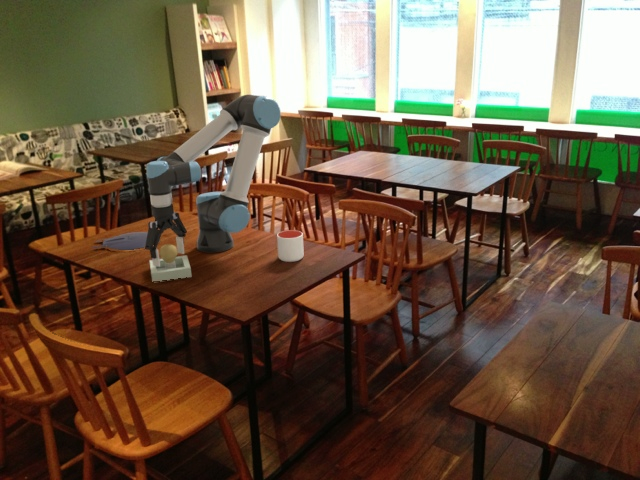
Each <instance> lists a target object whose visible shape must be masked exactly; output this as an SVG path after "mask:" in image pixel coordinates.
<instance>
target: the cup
mask: <svg viewBox="0 0 640 480" xmlns="http://www.w3.org/2000/svg"><path fill="white" fill-rule="evenodd" d="M303 236H304V233H303V232H302V231H300V230H297V229H296V230H295V229H290V230H282V231H280V232H278V233H277V234H276V240H277V241H276V242H277V256H278V259H279V260H281V261H282V262H285V263H287V262H288V263H292V262H298V261H300V260H302V259H303V257H304V255H305V254H304V252H305V251H304V249H305V248H304V237H303Z"/></svg>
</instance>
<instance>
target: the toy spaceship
mask: <svg viewBox="0 0 640 480" xmlns="http://www.w3.org/2000/svg"><path fill="white" fill-rule="evenodd" d="M147 234H148V231H136V232H135V231H133V232H127V233H123V234H119V235H117V236H111V237H108V238H104V239H97V240H95V242H102V244H101V245H96V246H92V247H91V249H92V248H97V247H109V248H111V249H118V250H134V249H140V248H144V247H145V245H146V239H147ZM101 240H104V241H101ZM159 241H160V240H159ZM160 242H161V241H160Z"/></svg>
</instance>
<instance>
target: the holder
mask: <svg viewBox="0 0 640 480" xmlns="http://www.w3.org/2000/svg"><path fill="white" fill-rule="evenodd" d="M159 259H160V266H159V267H158V266H153V260H152V259H149V266H150V276H151V281H152V282H153V281H160V282H163V281H162V280H167V281H171V280H170V279H174V280H179V279H178V278H181V279H185V278H186V277H187V278H192V276H193V275H192V268H191V265H190V261H189V258H188V255H180V256H176V258H175V260H174V261H175V264H176V265H175V266H176V268H174V269H167V270H166V267H165V261H164V260H163V259H162V258H159ZM187 278H186V279H187Z"/></svg>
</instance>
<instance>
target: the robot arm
mask: <svg viewBox="0 0 640 480" xmlns="http://www.w3.org/2000/svg"><path fill="white" fill-rule="evenodd" d="M281 116H282V113H281V108H280V106H279V104H278V102H277V101H276V100H275V99H273V98H272V97H269V96H267V95H266V96H265V95H254V94H244V95H241V96H238V97H237V98H236V99H234V100H232V101H230V102H229V103H228V104H227V105H226V106H225V107H223V108H222V109H220V110H219V114H218V116H216V117H214V119H212V120H211V121H210V122H208V123H207V124H206V125H205V126H204V127H202V128H201V129H200V130H199V131H197V132H196V133H195V134H194V135H192V136H191V137H190V138H189V139H188V140H186V141H184V142H183V144H181V145H180V146H179V147H178V148H176V149H175V150H174V151H172V152H171V153H170V154H169V155H167V156H161V157H159V158H157V160H154V161H150V162H148V163H147V164H146V179H147V185H148V191H149V197H150V205H151V212H152V216H153V217H154V221H148V230H147V232H148V234H147V239H146V245H145V249H144V250H149V252H150V258H151V260H153V266H158V267H159V266H160V259H161V258H160V251H159V249H158V248H157V247H158V244H159V243H160V242H159V240H160V237H162V234H163V233H164V232H165V231H166V230H169V229H170V230H171V231H172V232H173V233H174V234H176V236H175V243H176V248H177V254H181V255H184V254H185V246H184V244H185V239H184V238H185V237H186V235H187V233H188V230H187V229H186V227H185V225H184V223H183V221H182V220H181V217H180V214H179V212H175V211H174V204H173V203H174V202H173V196H172V187H175V186H180V185H181V186H182V185H185V184H186V185H187V184H192V183H196V182H199V181H200V180H201V178H202V169H201V166H200V164H199V163H198V162H197V161H196V160H197V159H198V158H199V157H200V156H201V155H202V154H204V153H205V152H207V151H208V150H209V149H210V148H212V146H214V145H215V144H216V143H218V142H219V141H220V140H222V138H224V137H225V136H226V135H228V134H229V133H230V132H231V131H236V130H238V129H239V128H241V130H242V133H241V137H240V140H239V143H238V146H237V150H236V154H235V158H234V160H233V164H232V167H231V171H230V174H229V177H228V180H227V183H226V187H225V189H224V191H211V192H204V193H201V194H198V195H197V196H196V199H195V200H196V201H195V202H196V203H195V205H196V212H197V218H198V227H199V228H198V234H197V235H198V237H197V241H196V249H197V250H198V251H200V252H202V253H207V254H208V253H209V254H211V253H212V254H213V253H221V252H226V251H228V250H230V249H231V248H233V247H234V238H233V237H232V234H235V233H236V234H237V233H240V232H241V231H243V230H244V229H246V227H247V226H248V224H249V223H250V219H251V214H250V212H249V209H248V207H249V203H250V201H249V199H248V197H247V196H248V193H249V189H250V186H251V183H252V179H253V176H254V173H255V170H256V167H257V164H258V159H259V157H260V153H261V150H262V146H263V144H264V140H265V138H266V137H269V136H270V134H271V131H272V129H273V128H275V127H276V126H277V125H278V124H279V122H280V120H281ZM158 242H159V243H158ZM153 245H154V246H153Z"/></svg>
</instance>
